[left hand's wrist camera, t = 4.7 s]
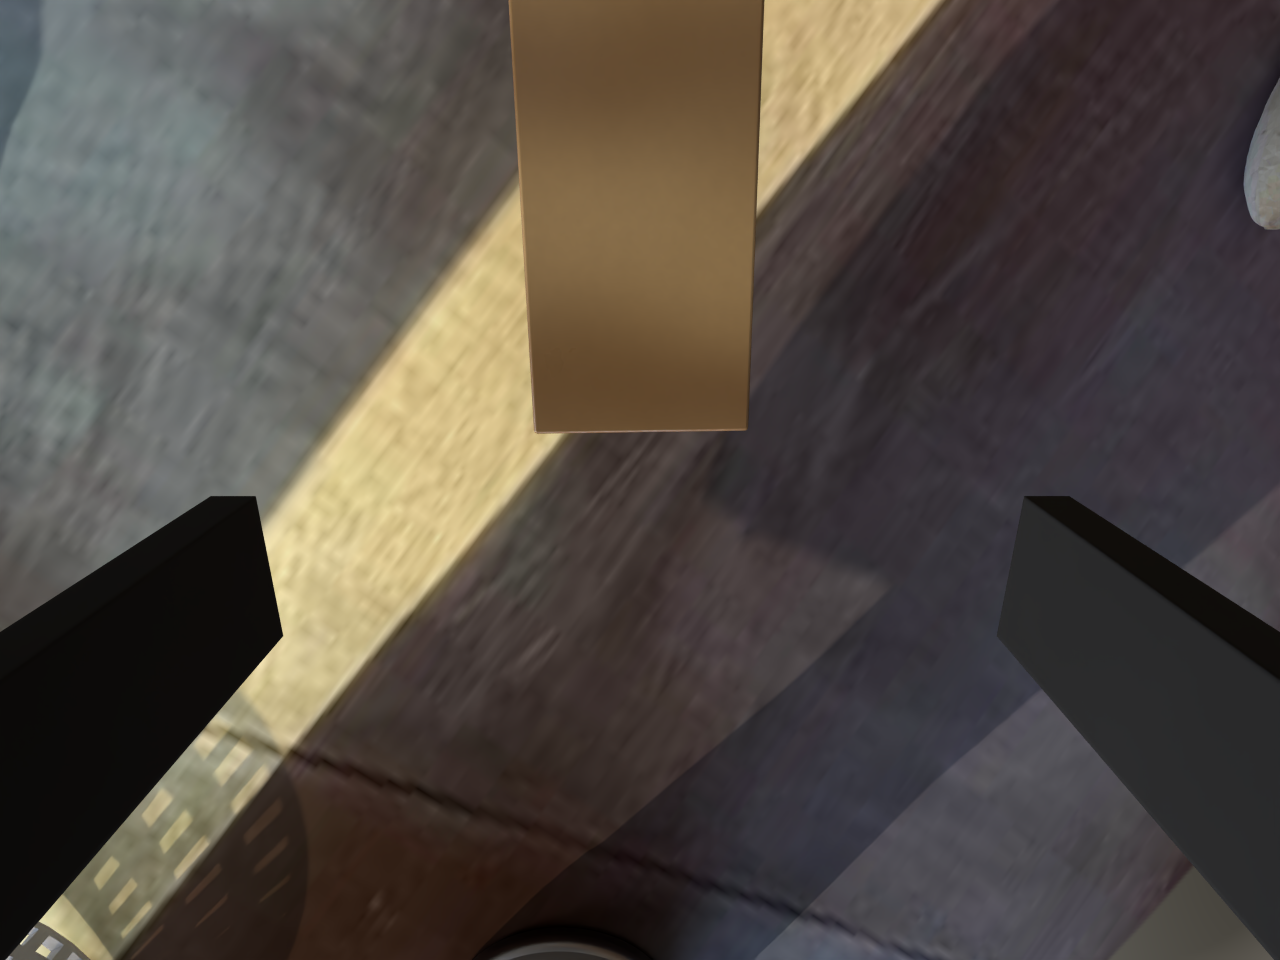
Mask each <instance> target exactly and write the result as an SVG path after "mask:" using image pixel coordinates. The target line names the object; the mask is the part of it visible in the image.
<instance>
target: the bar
mask: <svg viewBox="0 0 1280 960" xmlns="http://www.w3.org/2000/svg"><path fill="white" fill-rule="evenodd" d="M509 15H510V32H511V49H512V66H513V83H514V100H515V116H516V133H517V150H518V167H519V184H520V201H521V217H522V234H523V251H524V268H525V285H526V301H527V318H528V335H529V352H530V369H531V386H532V402H533V419H534V431H535V433H604V432H671V431H737V430H747V429H748V418H749V392H750V365H751V339H752V312H753V286H754V259H755V233H756V206H757V180H758V154H759V127H760V101H761V74H762V48H763V21H764V0H509Z"/></svg>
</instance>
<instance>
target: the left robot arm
mask: <svg viewBox="0 0 1280 960" xmlns="http://www.w3.org/2000/svg"><path fill="white" fill-rule="evenodd" d="M282 637H283V632H282V627H281V622H280V617H279V612H278V607H277V602H276V597H275V592H274V587H273V582H272V577H271V572H270V566H269V561H268V556H267V551H266V546H265V541H264V536H263V531H262V526H261V521H260V516H259V511H258V506H257V501H256V496H210V497H209V498H207V499H206V500H204V501H203V502H201V503H200V504H198V505H196V506H195V507H193V508H192V509H190V510H189V511H187V512H186V513H184V514H183V515H181V516H179V517H178V518H176V519H175V520H173V521H172V522H170V523H169V524H167V525H165V526H164V527H162V528H161V529H159V530H158V531H156V532H155V533H153V534H152V535H150V536H148V537H147V538H145V539H144V540H142V541H141V542H139V543H138V544H136V545H134V546H133V547H131V548H130V549H128V550H127V551H125V552H124V553H122V554H121V555H119V556H117V557H116V558H114V559H113V560H111V561H110V562H108V563H107V564H105V565H103V566H102V567H100V568H99V569H97V570H96V571H94V572H93V573H91V574H90V575H88V576H86V577H85V578H83V579H82V580H80V581H79V582H77V583H76V584H74V585H72V586H71V587H69V588H68V589H66V590H65V591H63V592H62V593H60V594H59V595H57V596H55V597H54V598H52V599H51V600H49V601H48V602H46V603H45V604H43V605H41V606H40V607H38V608H37V609H35V610H34V611H32V612H31V613H29V614H27V615H26V616H24V617H23V618H21V619H20V620H18V621H17V622H15V623H14V624H12V625H10V626H9V627H7V628H6V629H4V630H3V631H1V632H0V960H6V959H7V958H8V957H9V955H10V954H11V953H12V952H13V951H14V950H15V948H16V947H17V946H18V945H19V944H20V943H21V941H22V940H23V939H24V938H25V937H26V936H27V934H28V933H29V932H30V931H31V930H32V929H33V927H34V926H35V925H36V924H37V923H38V922H39V920H40V919H41V918H42V917H43V916H44V915H45V913H46V912H47V911H48V910H49V909H50V908H51V906H52V905H53V904H54V903H55V902H56V901H57V899H58V898H59V897H60V896H61V895H62V894H63V892H64V891H65V890H66V889H67V888H68V887H69V885H70V884H71V883H72V882H73V881H74V880H75V878H76V877H77V876H78V875H79V874H80V873H81V871H82V870H83V869H84V868H85V867H86V866H87V864H88V863H89V862H90V861H91V860H92V859H93V857H94V856H95V855H96V854H97V853H98V852H99V850H100V849H101V848H102V847H103V846H104V845H105V843H106V842H107V841H108V840H109V839H110V838H111V836H112V835H113V834H114V833H115V832H116V831H117V829H118V828H119V827H120V826H121V825H122V824H123V822H124V821H125V820H126V819H127V818H128V817H129V815H130V814H131V813H132V812H133V811H134V810H135V808H136V807H137V806H138V805H139V804H140V803H141V801H142V800H143V799H144V798H145V797H146V796H147V794H148V793H149V792H150V791H151V790H152V789H153V787H154V786H155V785H156V784H157V783H158V782H159V780H160V779H161V778H162V777H163V776H164V775H165V773H166V772H167V771H168V770H169V769H170V768H171V766H172V765H173V764H174V763H175V762H176V761H177V759H178V758H179V757H180V756H181V755H182V753H183V752H184V751H185V750H186V749H187V748H188V746H189V745H190V744H191V743H192V742H193V741H194V739H195V738H196V737H197V736H198V735H199V734H200V732H201V731H202V730H203V729H204V728H205V727H206V725H207V724H208V723H209V722H210V721H211V720H212V718H213V717H214V716H215V715H216V714H217V713H218V711H219V710H220V709H221V708H222V707H223V706H224V704H225V703H226V702H227V701H228V700H229V699H230V697H231V696H232V695H233V694H234V693H235V692H236V690H237V689H238V688H239V687H240V686H241V685H242V683H243V682H244V681H245V680H246V679H247V678H248V676H249V675H250V674H251V673H252V672H253V671H254V669H255V668H256V667H257V666H258V665H259V664H260V662H261V661H262V660H263V659H264V658H265V657H266V655H267V654H268V653H269V652H270V651H271V650H272V648H273V647H274V646H275V645H276V644H277V643H278V641H279V640H280V639H281V638H282ZM997 637H998V638H999V639H1000V640H1001V641H1002V643H1003V644H1004V645H1005V646H1006V647H1007V648H1008V650H1009V651H1010V652H1011V653H1012V654H1013V655H1014V657H1015V658H1016V659H1017V660H1018V661H1019V662H1020V664H1021V665H1022V666H1023V667H1024V668H1025V669H1026V671H1027V672H1028V673H1029V674H1030V675H1031V676H1032V678H1033V679H1034V680H1035V681H1036V682H1037V683H1038V685H1039V686H1040V687H1041V688H1042V689H1043V690H1044V692H1045V693H1046V694H1047V695H1048V696H1049V697H1050V699H1051V700H1052V701H1053V702H1054V703H1055V704H1056V706H1057V707H1058V708H1059V709H1060V710H1061V711H1062V713H1063V714H1064V715H1065V716H1066V717H1067V718H1068V720H1069V721H1070V722H1071V723H1072V724H1073V725H1074V727H1075V728H1076V729H1077V730H1078V731H1079V732H1080V734H1081V735H1082V736H1083V737H1084V738H1085V739H1086V741H1087V742H1088V743H1089V744H1090V745H1091V746H1092V748H1093V749H1094V750H1095V751H1096V752H1097V753H1098V755H1099V756H1100V757H1101V758H1102V759H1103V761H1104V762H1105V763H1106V764H1107V765H1108V766H1109V768H1110V769H1111V770H1112V771H1113V772H1114V773H1115V775H1116V776H1117V777H1118V778H1119V779H1120V780H1121V782H1122V783H1123V784H1124V785H1125V786H1126V787H1127V789H1128V790H1129V791H1130V792H1131V793H1132V794H1133V796H1134V797H1135V798H1136V799H1137V800H1138V801H1139V803H1140V804H1141V805H1142V806H1143V807H1144V808H1145V810H1146V811H1147V812H1148V813H1149V814H1150V815H1151V817H1152V818H1153V819H1154V820H1155V821H1156V822H1157V824H1158V825H1159V826H1160V827H1161V828H1162V829H1163V831H1164V832H1165V833H1166V834H1167V835H1168V836H1169V838H1170V839H1171V840H1172V841H1173V842H1174V843H1175V845H1176V846H1177V847H1178V848H1179V849H1180V850H1181V852H1182V853H1183V854H1184V855H1185V856H1186V857H1187V859H1188V860H1189V861H1190V862H1191V863H1192V864H1193V866H1194V867H1195V868H1196V869H1197V870H1198V871H1199V873H1200V874H1201V875H1202V876H1203V877H1204V878H1205V880H1206V881H1207V882H1208V883H1209V884H1210V885H1211V887H1212V888H1213V889H1214V890H1215V891H1216V892H1217V894H1218V895H1219V896H1220V897H1221V898H1222V899H1223V901H1224V902H1225V903H1226V904H1227V905H1228V906H1229V908H1230V909H1231V910H1232V911H1233V912H1234V913H1235V915H1236V916H1237V917H1238V918H1239V919H1240V920H1241V922H1242V923H1243V924H1244V925H1245V926H1246V927H1247V929H1248V930H1249V931H1250V932H1251V933H1252V934H1253V936H1254V937H1255V938H1256V939H1257V940H1258V941H1259V943H1260V944H1261V945H1262V946H1263V947H1264V948H1265V950H1266V951H1267V952H1268V953H1269V954H1270V955H1271V957H1272V958H1273V959H1274V960H1280V632H1279V631H1277V630H1276V629H1274V628H1273V627H1271V626H1270V625H1268V624H1266V623H1265V622H1263V621H1262V620H1260V619H1259V618H1257V617H1256V616H1254V615H1253V614H1251V613H1249V612H1248V611H1246V610H1245V609H1243V608H1242V607H1240V606H1239V605H1237V604H1235V603H1234V602H1232V601H1231V600H1229V599H1228V598H1226V597H1225V596H1223V595H1221V594H1220V593H1218V592H1217V591H1215V590H1214V589H1212V588H1211V587H1209V586H1208V585H1206V584H1204V583H1203V582H1201V581H1200V580H1198V579H1197V578H1195V577H1194V576H1192V575H1190V574H1189V573H1187V572H1186V571H1184V570H1183V569H1181V568H1180V567H1178V566H1177V565H1175V564H1173V563H1172V562H1170V561H1169V560H1167V559H1166V558H1164V557H1163V556H1161V555H1159V554H1158V553H1156V552H1155V551H1153V550H1152V549H1150V548H1149V547H1147V546H1146V545H1144V544H1142V543H1141V542H1139V541H1138V540H1136V539H1135V538H1133V537H1132V536H1130V535H1128V534H1127V533H1125V532H1124V531H1122V530H1121V529H1119V528H1118V527H1116V526H1115V525H1113V524H1111V523H1110V522H1108V521H1107V520H1105V519H1104V518H1102V517H1101V516H1099V515H1097V514H1096V513H1094V512H1093V511H1091V510H1090V509H1088V508H1087V507H1085V506H1084V505H1082V504H1080V503H1079V502H1077V501H1076V500H1074V499H1073V498H1071V497H1070V496H1024V501H1023V506H1022V511H1021V516H1020V521H1019V526H1018V531H1017V536H1016V541H1015V546H1014V551H1013V556H1012V561H1011V566H1010V572H1009V577H1008V582H1007V587H1006V592H1005V597H1004V602H1003V607H1002V612H1001V617H1000V622H999V627H998V632H997ZM473 960H651V959H650V958H649V957H648V956H647V955H645V954H644V953H643V952H642V951H640V950H639V949H637V948H636V947H634V946H632V945H630V944H629V943H627V942H625V941H623V940H620V939H618V938H616V937H613V936H610V935H607V934H604V933H600V932H596V931H592V930H586V929H579V928H560V927H558V928H544V929H536V930H531V931H527V932H523V933H519V934H516V935H513V936H510V937H508V938H505V939H503V940H501V941H499V942H497V943H495V944H493V945H491V946H490V947H488V948H486V949H485V950H484V951H482V952H481V953H480V954H478V955H477V956H476V957H475V958H474V959H473Z"/></svg>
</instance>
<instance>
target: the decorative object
mask: <svg viewBox="0 0 1280 960" xmlns="http://www.w3.org/2000/svg"><path fill="white" fill-rule="evenodd" d="M28 935H29V936H28V937H27V939H26V940H25V941H24V942H23V943H22V945H20V944H19V945H18V946H17V947H16V948H15V950H14V951H13V952H12V953H11V954H10V955H9V957H8V958H7V959H6V960H90V959H89V958H88V957H87V956H86V955H85V954H84V953H83V952H82V951H81V950H80V949H79V948H77V947H76V946H75V945H74V944H73V943H72V942H70V941H69V940H67V939H66V938H64V937H63V936H62V935H60V934H59V933H57V932H56V931H54V930H53V929H51V928H50V927H48V926H46V925H44V924H42V923H40V922H38V923H37V924H36V925H35V926H34V927H33V929H32V930H31V931H30V932H29V933H28ZM41 944H42V945H44V946H45V947H46V948H47V949H49V950H50V951H51V952H50V954H49V955H48V956H47V958H46V957H44V956H42V955H41V954H39V953H37V952H35V951H36V950H37V949H38V948H39V947H40V945H41Z"/></svg>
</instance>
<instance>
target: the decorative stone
mask: <svg viewBox="0 0 1280 960" xmlns="http://www.w3.org/2000/svg"><path fill="white" fill-rule="evenodd" d="M1244 192H1245V196H1246V201H1247V205H1248V209H1249V212H1250V215H1251V217H1252V219H1253V220H1254V221H1255V222H1256V223H1257V224H1258V225H1260V226H1263V227H1264V228H1265V229H1270V230H1274V229H1280V78H1279V80H1278V82H1277V84H1276V86H1275V88H1274V89H1273V91H1272V93H1271V95H1270V97H1269V99H1268V101H1267V103H1266V106H1265V108H1264V111H1263V114H1262V116H1261V118H1260V121H1259V123H1258V125H1257V127H1256V130H1255V133H1254V136H1253V138H1252V141H1251V145H1250V149H1249V152H1248V156H1247V162H1246V167H1245V172H1244Z"/></svg>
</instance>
